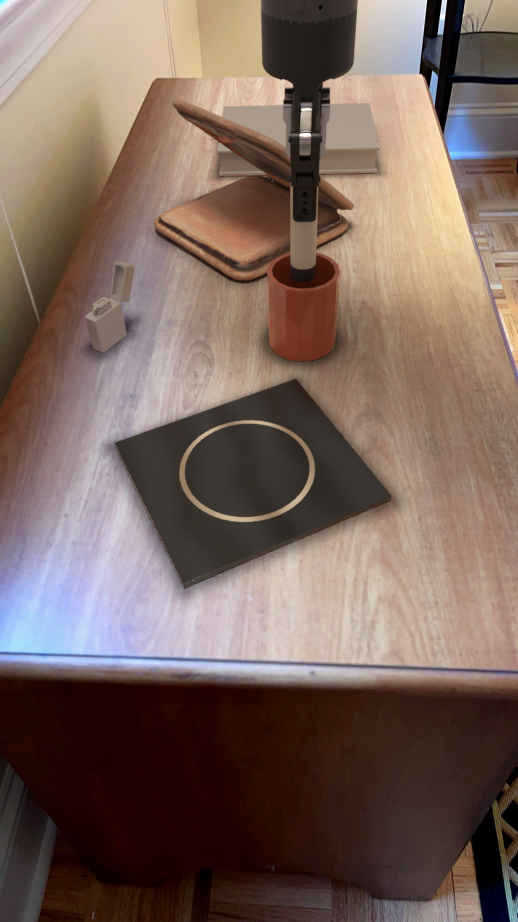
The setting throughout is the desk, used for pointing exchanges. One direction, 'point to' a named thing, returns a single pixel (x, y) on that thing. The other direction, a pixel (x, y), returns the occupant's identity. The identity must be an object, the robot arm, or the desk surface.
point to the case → (246, 205)
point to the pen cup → (303, 309)
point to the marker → (302, 246)
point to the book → (345, 138)
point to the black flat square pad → (246, 479)
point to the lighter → (111, 310)
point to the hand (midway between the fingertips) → (304, 211)
